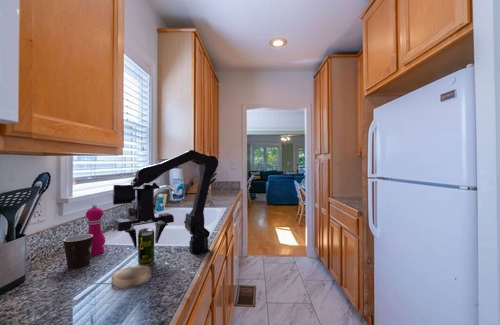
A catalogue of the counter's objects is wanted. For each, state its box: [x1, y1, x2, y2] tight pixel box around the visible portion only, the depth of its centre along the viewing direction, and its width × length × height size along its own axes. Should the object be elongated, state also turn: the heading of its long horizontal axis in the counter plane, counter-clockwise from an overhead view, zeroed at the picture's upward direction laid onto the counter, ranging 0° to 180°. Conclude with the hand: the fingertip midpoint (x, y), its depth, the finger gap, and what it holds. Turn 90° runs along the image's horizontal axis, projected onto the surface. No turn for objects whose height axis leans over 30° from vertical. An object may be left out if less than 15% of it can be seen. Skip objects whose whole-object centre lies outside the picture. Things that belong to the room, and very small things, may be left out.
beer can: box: [137, 227, 155, 267], centre depth 85 cm, size 5×5×12 cm
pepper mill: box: [85, 203, 106, 257], centre depth 97 cm, size 7×7×20 cm
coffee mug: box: [63, 233, 93, 271], centre depth 83 cm, size 12×9×10 cm
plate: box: [111, 265, 152, 290], centre depth 74 cm, size 11×11×2 cm
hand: (146, 245), depth 86 cm, fingers open, 7 cm apart
